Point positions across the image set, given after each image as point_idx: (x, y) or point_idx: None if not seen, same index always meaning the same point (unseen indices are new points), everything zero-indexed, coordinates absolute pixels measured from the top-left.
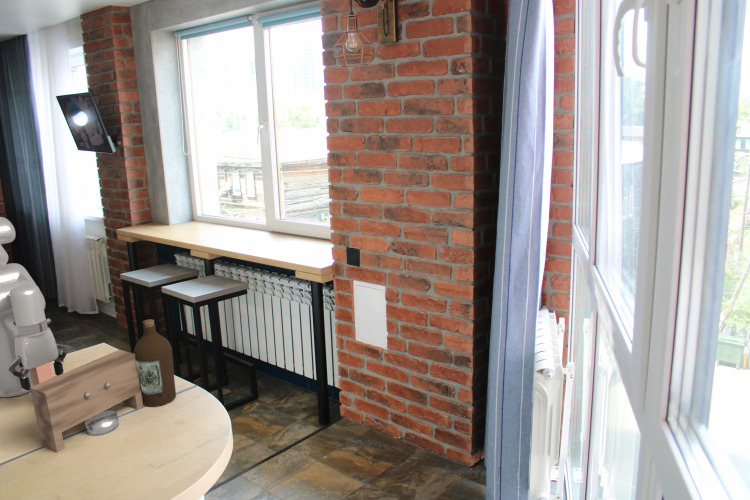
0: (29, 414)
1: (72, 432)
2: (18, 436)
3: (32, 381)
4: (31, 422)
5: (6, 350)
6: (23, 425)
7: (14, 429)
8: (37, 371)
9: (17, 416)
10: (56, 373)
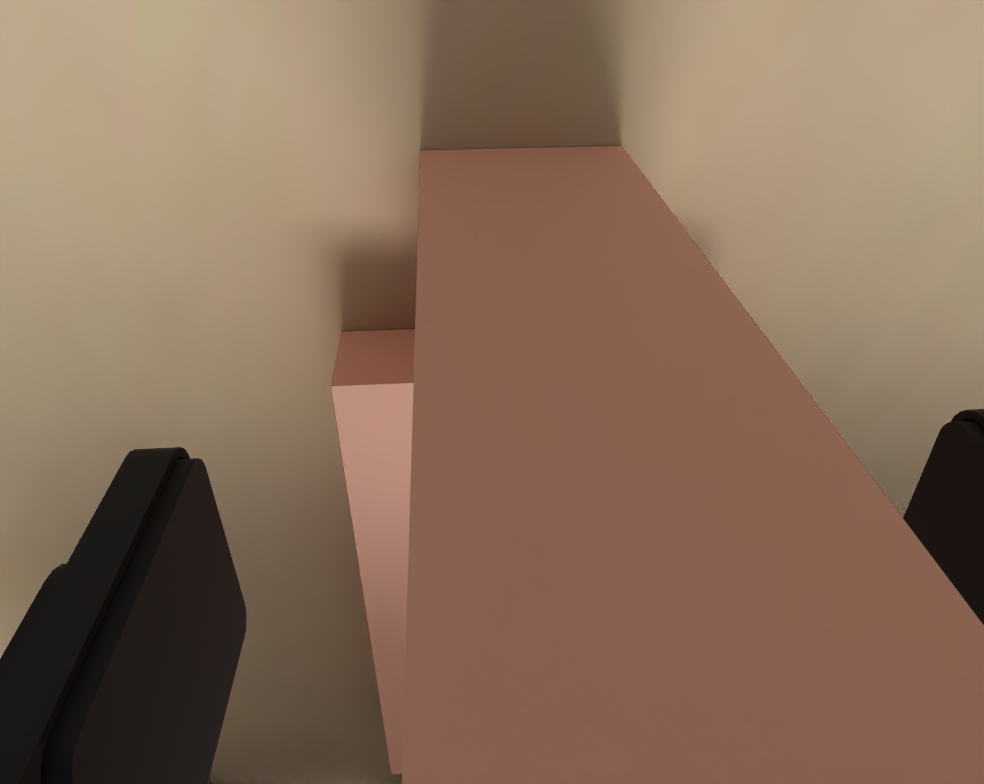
0: (257, 265)
1: (364, 779)
2: (27, 585)
3: (414, 420)
4: (205, 458)
5: None
6: (118, 448)
7: (16, 448)
8: None
9: (117, 169)
10: (961, 490)
